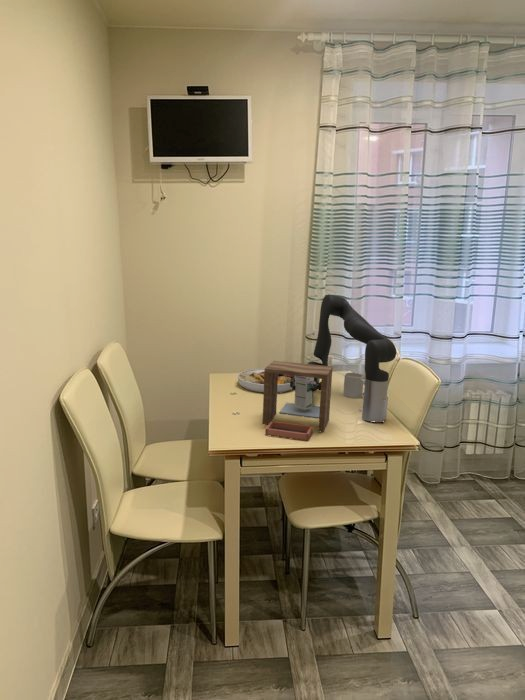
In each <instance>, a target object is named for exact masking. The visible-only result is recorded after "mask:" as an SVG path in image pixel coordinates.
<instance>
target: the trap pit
mask: <svg viewBox="0 0 525 700" xmlns="http://www.w3.org/2000/svg"><path fill="white" fill-rule="evenodd" d="M313 427H314V426H313V425H305V424H300V423H299V424H298V423H289V422H283V421H276V420H275V421H273V420H271V421H270V423H269V424H268V425H266V428H265V434H264V435H265V436H267V435H271V436H270V437H274V436H279V437H278V438H282V437H285V438H284V439H289V438H292V439H291V440H296V439H298V440H299V441H304V440H307V441H306V442H308V441H310V438H311V436H312V435H313V431H314V430H313V429H314V428H313ZM298 440H297V441H298Z"/></svg>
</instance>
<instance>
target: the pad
mask: <svg viewBox="0 0 525 700" xmlns="http://www.w3.org/2000/svg"><path fill="white" fill-rule="evenodd" d="M279 413H280V415H286V414H288V415H287V416H295V417H302V416H304V418H310V417H313V418H312V419H318V418H319V413H320V405H319V406H318V405H313V407H310V408H308V409H306V410H304V409H300V408H296V407H295V402H285V404H284V405H283V406H282V408H281V409H280V411H278V414H279Z"/></svg>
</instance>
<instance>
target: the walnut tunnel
mask: <svg viewBox="0 0 525 700" xmlns="http://www.w3.org/2000/svg"><path fill="white" fill-rule="evenodd" d="M333 368H334V367H333V366H330V365H328V366H322V365H311V364H308V363H301V362H291V361H279V360H273V361H271V362H270V363H269V364H268V365H267V366H266V367H264V369H265V371H264V393H263V402H262V404H263V405H262V424H265V425H264V426H268V425H269V424H270V423H269V422H271V421H273V419H274V417H275V416H276V415H277V406H278V405H277V403H278V400H277V399H278V393H277V383H278V374H284V375H294V376H303V377H313V378H322V379H321V380H320V382H321V391H320V397H319V399H320V401H319V406H320V413H319V419H318V430H317V431H321V432H320V433H323V432H325V430H326V428H327V426H328V424H329V422H330V412H331V397H332V396H331V395H332V380H333V379H332V378H333ZM328 421H329V422H328Z"/></svg>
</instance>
